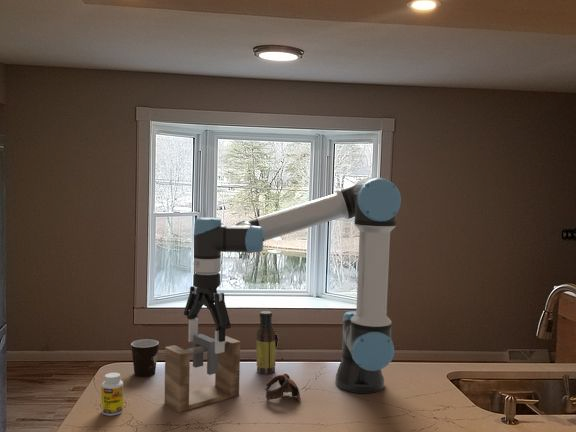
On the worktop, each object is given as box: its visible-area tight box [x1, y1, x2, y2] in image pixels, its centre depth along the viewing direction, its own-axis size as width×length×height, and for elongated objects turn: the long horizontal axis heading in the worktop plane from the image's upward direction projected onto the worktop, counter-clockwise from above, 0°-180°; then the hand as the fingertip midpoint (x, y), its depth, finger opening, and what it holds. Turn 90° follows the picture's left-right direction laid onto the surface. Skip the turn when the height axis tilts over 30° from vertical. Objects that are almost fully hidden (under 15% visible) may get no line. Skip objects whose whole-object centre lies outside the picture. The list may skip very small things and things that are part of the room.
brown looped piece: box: [264, 373, 302, 404], centre depth 163 cm, size 12×10×8 cm
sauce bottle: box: [256, 310, 276, 375], centre depth 185 cm, size 6×6×20 cm
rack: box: [164, 335, 241, 413], centre depth 161 cm, size 20×8×16 cm, turn 131°
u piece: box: [192, 333, 218, 376], centre depth 160 cm, size 9×3×9 cm, turn 41°
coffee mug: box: [130, 338, 160, 378], centre depth 179 cm, size 12×9×10 cm
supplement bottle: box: [100, 372, 124, 416], centre depth 151 cm, size 6×6×10 cm
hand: (205, 346), depth 160 cm, fingers open, 13 cm apart
